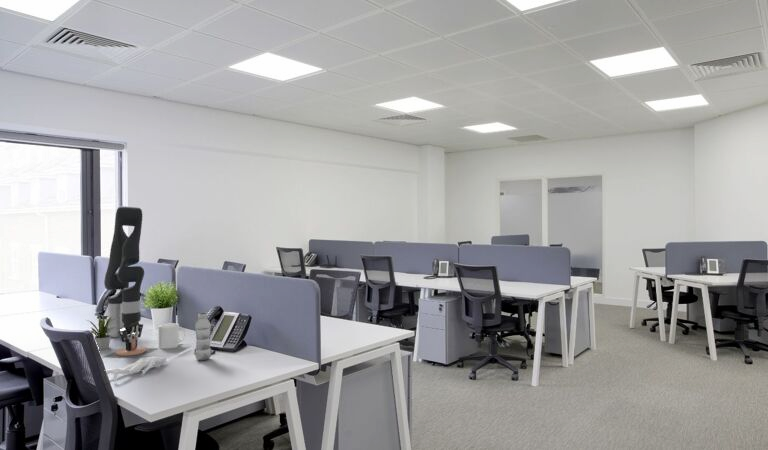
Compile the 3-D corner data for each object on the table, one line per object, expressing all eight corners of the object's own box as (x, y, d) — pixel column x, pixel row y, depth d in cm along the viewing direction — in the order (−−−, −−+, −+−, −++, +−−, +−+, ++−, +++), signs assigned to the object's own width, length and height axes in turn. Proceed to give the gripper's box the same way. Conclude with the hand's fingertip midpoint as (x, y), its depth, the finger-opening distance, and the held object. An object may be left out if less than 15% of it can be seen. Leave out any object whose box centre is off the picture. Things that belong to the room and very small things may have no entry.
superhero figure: (117, 387, 175) (174, 369, 197) (119, 372, 174) (175, 355, 197) (97, 379, 180) (155, 362, 202) (99, 364, 179) (156, 349, 202)
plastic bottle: (214, 358, 207) (214, 312, 207) (203, 362, 201) (203, 315, 201) (202, 356, 210) (202, 311, 209) (191, 361, 203) (191, 314, 203)
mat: (102, 358, 207) (102, 357, 207) (127, 348, 222) (127, 347, 222) (136, 360, 204) (136, 358, 204) (158, 350, 220) (158, 348, 220)
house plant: (129, 348, 224) (128, 313, 224) (100, 355, 211) (100, 318, 211) (109, 344, 230) (108, 310, 230) (80, 351, 217) (80, 316, 217)
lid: (109, 355, 208) (109, 341, 208) (128, 348, 220) (128, 335, 220) (135, 356, 207) (135, 342, 207) (152, 349, 219) (152, 336, 218)
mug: (188, 346, 227) (188, 323, 227) (163, 351, 218) (163, 328, 218) (180, 343, 233) (180, 321, 233) (155, 348, 224) (155, 325, 224)
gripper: (133, 307, 221) (134, 345, 221) (112, 313, 207) (112, 353, 207) (148, 308, 220) (149, 345, 220) (128, 314, 206) (128, 354, 206)
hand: (131, 349), depth 213 cm, fingers closed on lid, 3 cm apart
